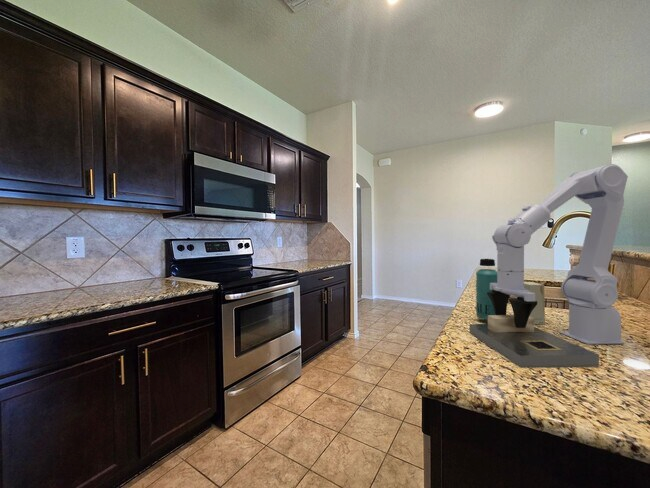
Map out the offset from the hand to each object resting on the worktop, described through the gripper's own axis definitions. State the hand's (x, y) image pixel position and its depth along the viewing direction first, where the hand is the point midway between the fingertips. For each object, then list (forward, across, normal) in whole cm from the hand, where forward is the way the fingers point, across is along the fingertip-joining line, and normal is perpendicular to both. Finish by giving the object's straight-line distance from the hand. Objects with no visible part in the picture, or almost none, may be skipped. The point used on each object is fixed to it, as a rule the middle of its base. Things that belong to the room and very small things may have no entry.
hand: (510, 322), depth 70 cm
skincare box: (+5, -14, +16) cm, 22 cm away
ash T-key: (+4, 0, 0) cm, 4 cm away
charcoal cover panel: (+4, +5, 0) cm, 7 cm away
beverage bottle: (+5, -14, +3) cm, 15 cm away
